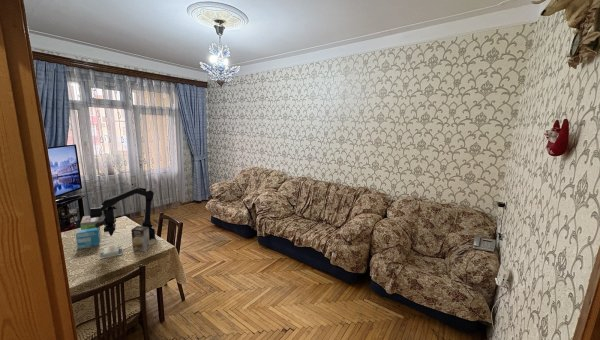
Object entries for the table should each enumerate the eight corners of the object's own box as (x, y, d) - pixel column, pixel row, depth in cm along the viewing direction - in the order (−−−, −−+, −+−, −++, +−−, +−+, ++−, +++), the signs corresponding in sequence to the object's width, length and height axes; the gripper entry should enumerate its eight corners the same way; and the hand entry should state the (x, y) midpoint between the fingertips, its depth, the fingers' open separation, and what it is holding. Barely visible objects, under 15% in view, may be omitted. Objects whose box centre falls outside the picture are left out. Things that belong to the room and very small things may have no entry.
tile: (118, 245, 179) (118, 251, 172) (118, 247, 180) (118, 254, 173) (104, 247, 175) (103, 254, 168) (104, 250, 176) (103, 257, 168)
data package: (77, 249, 176) (75, 233, 174) (78, 246, 180) (76, 230, 177) (99, 245, 183) (97, 229, 181) (99, 242, 187) (98, 227, 184)
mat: (122, 248, 181) (122, 247, 180) (121, 255, 172) (121, 254, 172) (101, 252, 174) (101, 251, 174) (99, 259, 166) (99, 259, 166)
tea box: (99, 239, 191) (97, 220, 188) (81, 242, 185) (79, 223, 182) (100, 231, 203) (98, 213, 200) (84, 233, 198) (82, 216, 194)
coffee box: (132, 250, 179) (130, 229, 176) (138, 245, 185) (136, 225, 182) (144, 251, 179) (143, 230, 175) (150, 246, 185) (149, 226, 182)
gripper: (96, 212, 181) (98, 232, 185) (93, 222, 166) (95, 243, 170) (115, 210, 187) (117, 229, 191) (114, 219, 172) (116, 240, 176)
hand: (111, 235), depth 182 cm, fingers closed
